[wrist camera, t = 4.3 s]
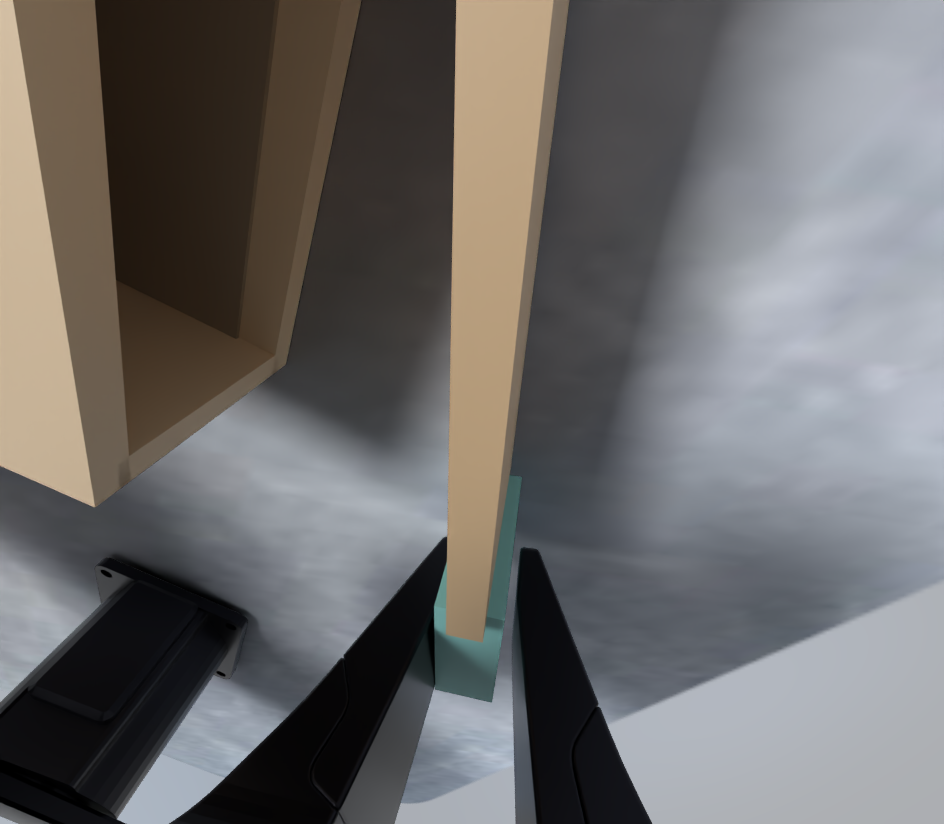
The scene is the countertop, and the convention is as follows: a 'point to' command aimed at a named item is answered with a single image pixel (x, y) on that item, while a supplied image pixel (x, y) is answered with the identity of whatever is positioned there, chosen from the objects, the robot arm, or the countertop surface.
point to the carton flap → (491, 311)
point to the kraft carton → (153, 218)
